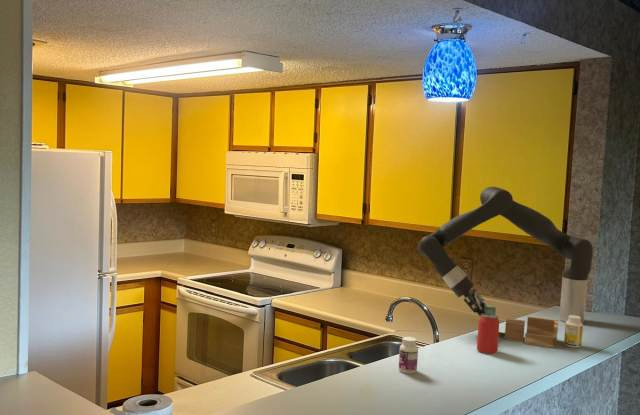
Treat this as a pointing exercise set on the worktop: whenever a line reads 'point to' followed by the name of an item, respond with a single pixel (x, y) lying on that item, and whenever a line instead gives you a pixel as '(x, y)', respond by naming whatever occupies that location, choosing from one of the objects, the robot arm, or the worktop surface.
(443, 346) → the worktop surface
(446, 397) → the worktop surface
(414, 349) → the pill bottle
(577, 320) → the supplement bottle
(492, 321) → the beer can
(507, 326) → the block
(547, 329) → the brown u-shaped block
